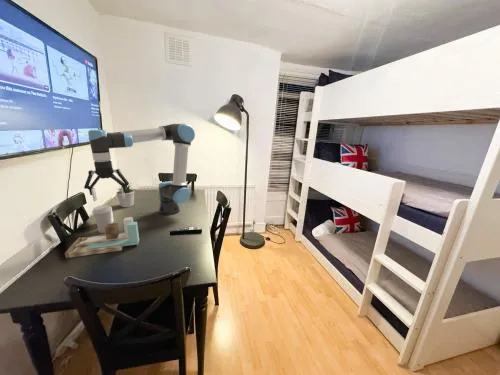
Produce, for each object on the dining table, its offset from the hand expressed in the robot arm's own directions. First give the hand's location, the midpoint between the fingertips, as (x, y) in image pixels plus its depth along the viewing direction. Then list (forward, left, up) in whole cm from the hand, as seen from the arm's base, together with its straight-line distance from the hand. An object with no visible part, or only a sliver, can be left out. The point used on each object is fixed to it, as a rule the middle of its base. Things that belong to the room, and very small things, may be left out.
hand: (110, 199), depth 116 cm
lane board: (+5, +9, -23) cm, 25 cm away
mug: (+11, -20, -23) cm, 33 cm away
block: (0, +5, -21) cm, 21 cm away
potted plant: (+4, -55, -23) cm, 60 cm away
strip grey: (+1, +5, -22) cm, 22 cm away
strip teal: (-2, +12, -22) cm, 25 cm away
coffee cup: (+8, -10, -23) cm, 27 cm away
